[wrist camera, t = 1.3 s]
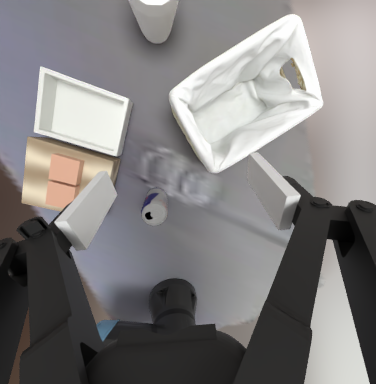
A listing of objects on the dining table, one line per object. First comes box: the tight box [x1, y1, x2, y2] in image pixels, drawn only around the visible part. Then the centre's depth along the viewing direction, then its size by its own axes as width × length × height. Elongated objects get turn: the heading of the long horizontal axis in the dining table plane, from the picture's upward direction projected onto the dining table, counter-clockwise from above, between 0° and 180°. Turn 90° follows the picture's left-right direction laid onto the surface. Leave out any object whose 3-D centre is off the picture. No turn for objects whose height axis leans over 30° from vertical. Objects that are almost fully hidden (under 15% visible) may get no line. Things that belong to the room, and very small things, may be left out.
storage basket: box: [169, 14, 323, 173], centre depth 35 cm, size 24×16×15 cm
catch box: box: [34, 66, 133, 156], centre depth 36 cm, size 12×16×4 cm
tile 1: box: [48, 153, 84, 185], centre depth 34 cm, size 5×5×2 cm
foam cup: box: [128, 0, 179, 43], centre depth 29 cm, size 10×9×13 cm
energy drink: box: [141, 187, 168, 226], centre depth 39 cm, size 5×5×12 cm
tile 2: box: [45, 180, 80, 208], centre depth 35 cm, size 5×5×2 cm
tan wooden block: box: [22, 137, 121, 211], centre depth 38 cm, size 14×16×6 cm
